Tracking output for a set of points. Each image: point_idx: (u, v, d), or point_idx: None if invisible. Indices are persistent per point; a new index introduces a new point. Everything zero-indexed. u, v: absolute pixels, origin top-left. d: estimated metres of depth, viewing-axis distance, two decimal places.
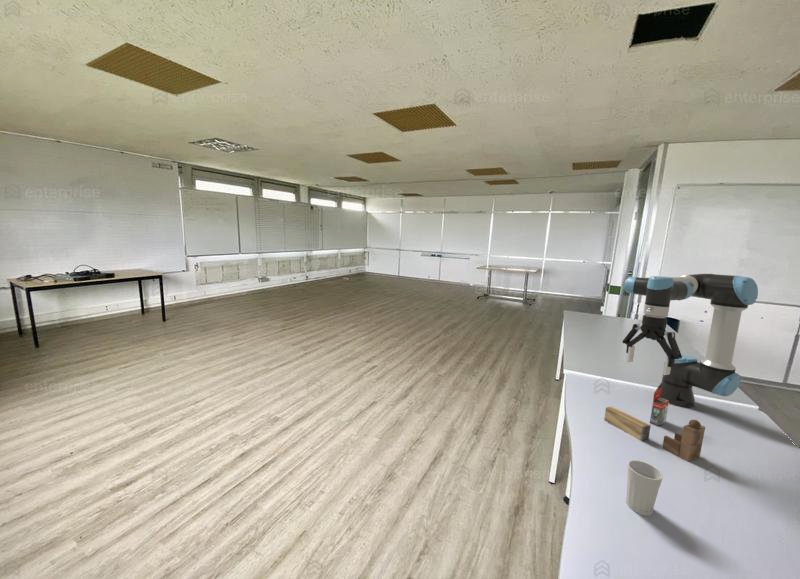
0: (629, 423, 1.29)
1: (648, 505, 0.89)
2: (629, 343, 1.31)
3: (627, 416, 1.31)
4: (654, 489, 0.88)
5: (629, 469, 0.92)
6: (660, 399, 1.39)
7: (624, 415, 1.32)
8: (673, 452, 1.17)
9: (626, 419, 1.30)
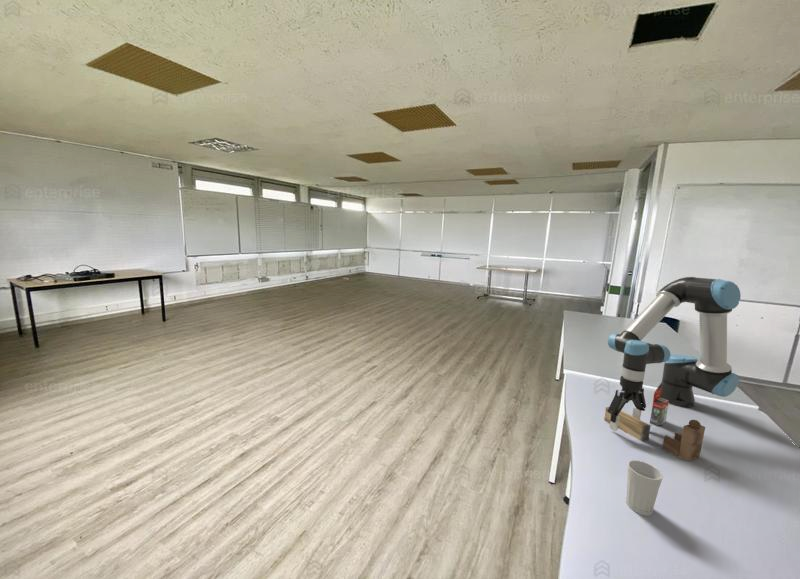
0: (629, 423, 1.29)
1: (648, 505, 0.89)
2: None
3: (627, 416, 1.31)
4: (654, 489, 0.88)
5: (629, 469, 0.92)
6: (660, 399, 1.39)
7: (624, 415, 1.32)
8: (673, 452, 1.17)
9: (626, 419, 1.30)
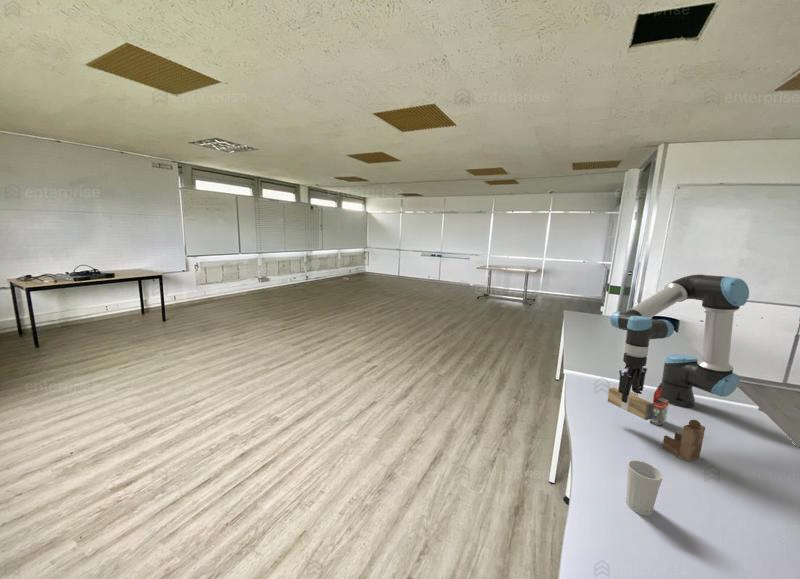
0: (633, 403, 1.27)
1: (648, 505, 0.89)
2: None
3: (631, 396, 1.30)
4: (654, 489, 0.88)
5: (629, 469, 0.92)
6: (660, 399, 1.39)
7: None
8: (673, 452, 1.17)
9: (630, 399, 1.29)
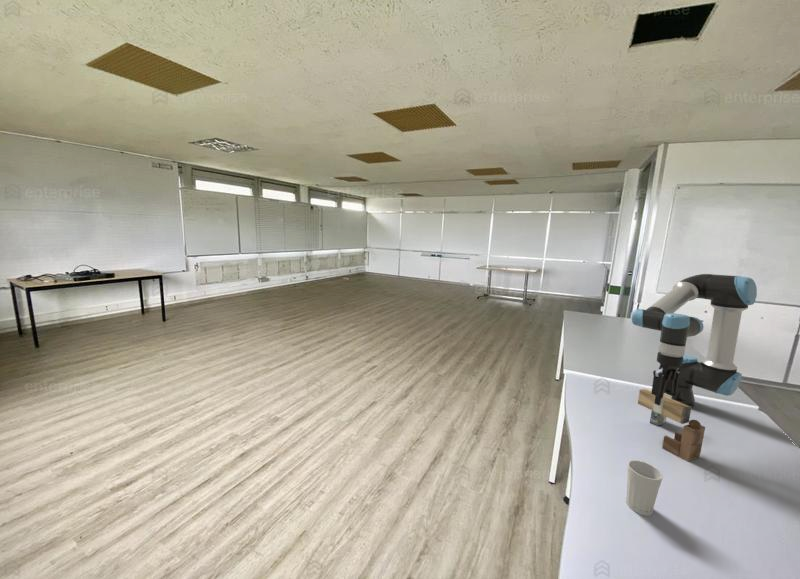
0: (667, 406, 1.20)
1: (648, 505, 0.89)
2: None
3: (664, 398, 1.22)
4: (654, 489, 0.88)
5: (629, 469, 0.92)
6: None
7: None
8: (673, 452, 1.17)
9: None
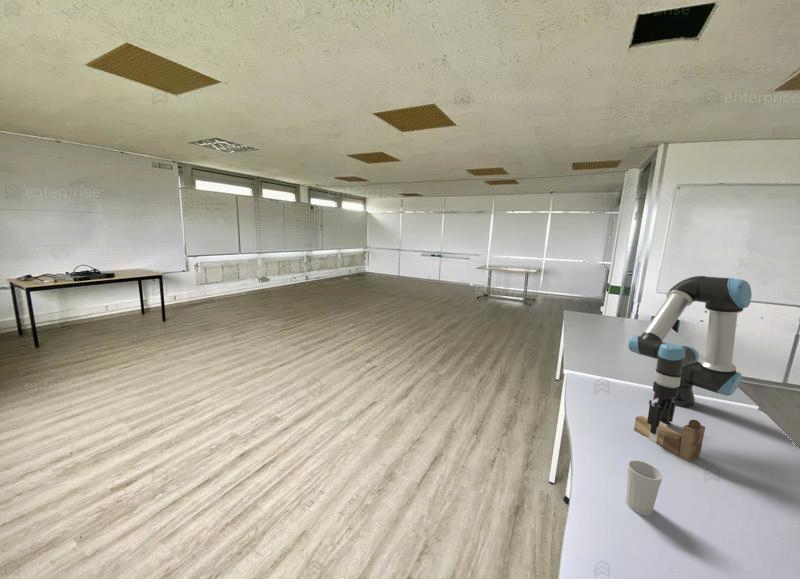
0: (663, 434, 1.22)
1: (648, 505, 0.89)
2: None
3: (660, 426, 1.24)
4: (654, 489, 0.88)
5: (629, 469, 0.92)
6: None
7: None
8: (673, 452, 1.17)
9: (659, 430, 1.23)
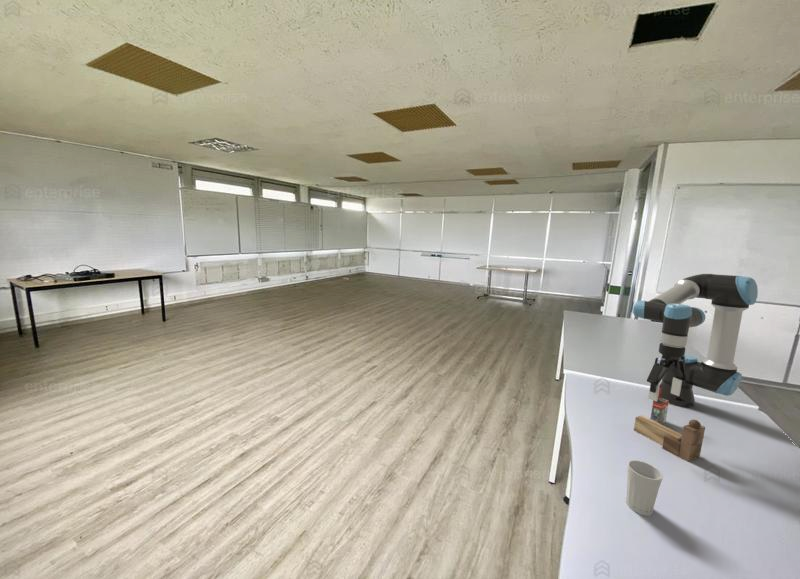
0: (663, 434, 1.22)
1: (648, 505, 0.89)
2: None
3: (660, 426, 1.24)
4: (654, 489, 0.88)
5: (629, 469, 0.92)
6: (660, 399, 1.39)
7: (656, 426, 1.25)
8: (673, 452, 1.17)
9: (659, 430, 1.23)
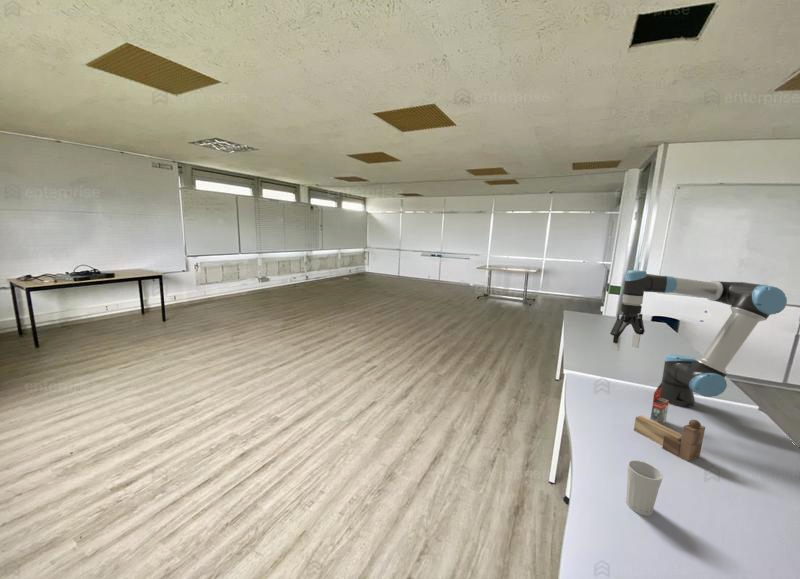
0: (663, 434, 1.22)
1: (648, 505, 0.89)
2: None
3: (660, 426, 1.24)
4: (654, 489, 0.88)
5: (629, 469, 0.92)
6: (660, 399, 1.39)
7: (656, 426, 1.25)
8: (673, 452, 1.17)
9: (659, 430, 1.23)
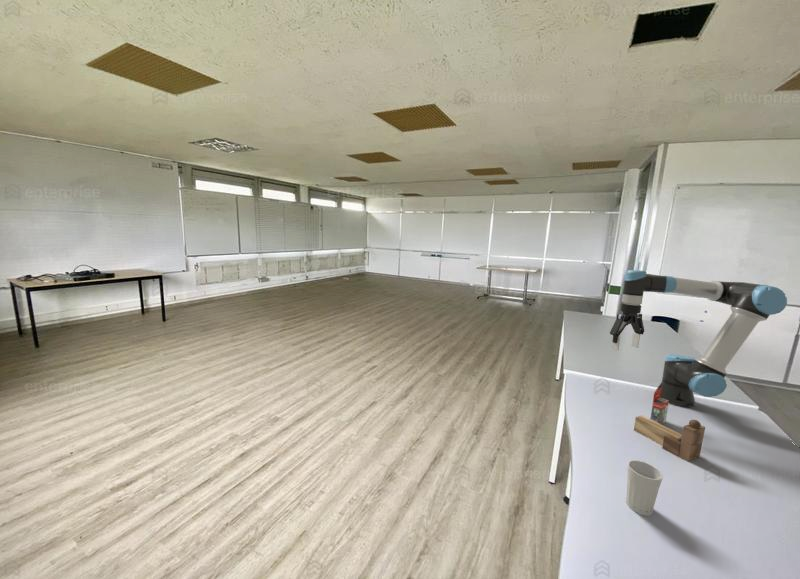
0: (663, 434, 1.22)
1: (648, 505, 0.89)
2: None
3: (660, 426, 1.24)
4: (654, 489, 0.88)
5: (629, 469, 0.92)
6: (660, 399, 1.39)
7: (656, 426, 1.25)
8: (673, 452, 1.17)
9: (659, 430, 1.23)
